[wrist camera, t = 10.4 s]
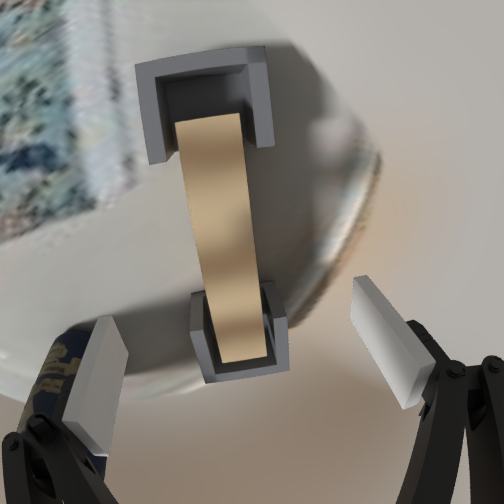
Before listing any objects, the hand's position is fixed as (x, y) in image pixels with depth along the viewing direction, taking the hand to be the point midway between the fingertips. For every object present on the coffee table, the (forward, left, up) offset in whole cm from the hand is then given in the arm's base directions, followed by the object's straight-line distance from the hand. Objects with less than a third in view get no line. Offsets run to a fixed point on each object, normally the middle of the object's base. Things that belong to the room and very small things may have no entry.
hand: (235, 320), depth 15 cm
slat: (+1, 0, -13) cm, 13 cm away
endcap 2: (+11, 0, -14) cm, 18 cm away
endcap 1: (-10, 0, -14) cm, 18 cm away
